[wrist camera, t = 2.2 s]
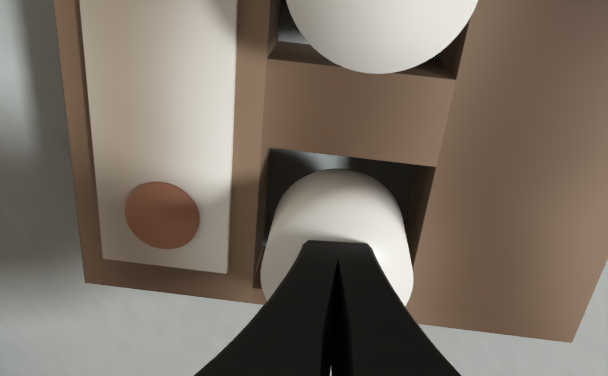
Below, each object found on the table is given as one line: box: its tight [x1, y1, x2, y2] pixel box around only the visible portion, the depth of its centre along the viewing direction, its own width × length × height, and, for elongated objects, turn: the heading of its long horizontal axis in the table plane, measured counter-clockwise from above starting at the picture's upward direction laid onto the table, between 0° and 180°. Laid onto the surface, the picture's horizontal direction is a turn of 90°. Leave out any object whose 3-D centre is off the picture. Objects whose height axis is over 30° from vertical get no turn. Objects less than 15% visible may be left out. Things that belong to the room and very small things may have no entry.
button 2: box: [260, 169, 413, 306], centre depth 12 cm, size 3×3×2 cm
